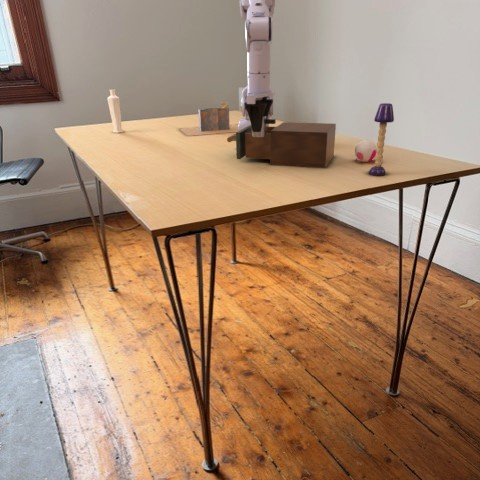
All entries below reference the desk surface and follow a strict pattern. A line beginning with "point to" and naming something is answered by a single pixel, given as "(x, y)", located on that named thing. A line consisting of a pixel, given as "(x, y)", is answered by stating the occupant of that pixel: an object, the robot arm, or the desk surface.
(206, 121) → the architectural model on board
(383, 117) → the toy lamp
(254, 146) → the drawer
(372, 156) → the stress ball
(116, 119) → the perfume bottle
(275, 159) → the cabinet
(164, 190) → the desk surface
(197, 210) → the desk surface
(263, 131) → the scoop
